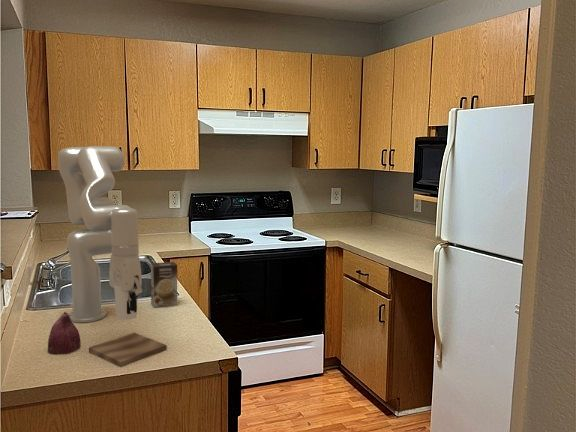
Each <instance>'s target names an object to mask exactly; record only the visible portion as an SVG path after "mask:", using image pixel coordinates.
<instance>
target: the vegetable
mask: <svg viewBox="0 0 576 432" xmlns="http://www.w3.org/2000/svg"><path fill="white" fill-rule="evenodd" d="M69 314H70V313H68V312H67V311H64V312H63V313H62V314H61V315H60V316H59V318H57V320H56V321H55V322H54V323H53V325H52V326H51V329H50V333H49V335H48V340H47V352H48V354H50V355H68V354H71V353H75V352H76V351H78V350H80V348H81V337H80V336H81V335H80V333H79V329H78V328H77V327H76V325H75V324H74V322H73V321H71V319H70V316H69Z"/></svg>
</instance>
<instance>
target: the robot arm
mask: <svg viewBox="0 0 576 432" xmlns="http://www.w3.org/2000/svg"><path fill="white" fill-rule="evenodd" d="M125 162H126V161H125V156H124V153H123V151H122V150H121V149H120V148H119V147H117V146H110V145H109V146H108V145H107V146H105V145H103V146H102V145H99V146H98V145H91V146H90V145H89V146H86V147H85V146H70V147H65V148H62V149H61V150H60V151H59V152H58V154H57V168H58V171H59V175H60V177H61V179H62V181H63V183H64V186H65V192H66V202H67V208H68V209H67V210H68V211H67V212H68V218H69V220H70V222H71V224H73V226H86V228H82V229H76V230H73V231H72V232H70V233H68V235H67V237H66V245H67V250H68V255H69V264H70V274H71V275H70V278H71V279H70V280H71V297H72V298H71V300H72V301H71V302H72V303H70V305H69V307H70V308H72V311H71V312H70V313H68V314H69V316H70V319H71V321H72V322H73V323H89V322H90V323H91V322H96V321H100V320H101V319H104V318H105V317H106V316H107V311H106V310H104V309H102V296H101V295H102V286H101V285H102V284H101V267H100V266H99V264H98V263H97V261H95V260H94V258H93V256H94V257H95V256H101V255H110V254H111V255H110V257H109V258H110V260H109V271H108V274H109V276H108V279H109V283H108V284H109V286H110V287H111V288H113V289H114V285H115V286H119V287H121V290H122V291H125V292H128V301H127V314H131V313H130V310H131V311H134V313H135V312H137V313H138V299H139V297H140V295H142V294H143V288H142V285H143V283H142V277H143V276H142V268H141V266H142V265H141V261H140V251H139V249H140V248H139V217H138V216H139V214H138V213H139V212H138V210H136V209H135V208H133V207H132V208H131V207H130V206H129V205H126V204H115V201H113V199H112V198H109V197H103V195H105V194H108V193H110V191H112V190H113V189H114V187H115V186H116V179H115V177H114V175H113V172H120V171H122V170H123V169H124V167H125ZM133 287H135V289H132V288H133ZM133 291H135V292H134V293H132V294H131V292H133ZM129 301H130V306H129Z"/></svg>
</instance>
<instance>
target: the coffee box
mask: <svg viewBox="0 0 576 432" xmlns="http://www.w3.org/2000/svg"><path fill="white" fill-rule="evenodd" d="M150 304H151V305H152V307H153V308H164V307H165V308H167V307H175V306H176V307H177V306H178V264H177V263H175V262H174V261H169V262H151V263H150Z"/></svg>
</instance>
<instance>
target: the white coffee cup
mask: <svg viewBox="0 0 576 432" xmlns="http://www.w3.org/2000/svg"><path fill="white" fill-rule="evenodd" d="M132 289H135V287H133V288H132ZM113 290H114V302H115V303H114V304H115V317H116V319H117V320H121V321H122V320H123V321H127V320H129V321H130V320H132V319H135V318H137V317H138V311H137V312H135V313H134V311H131V310H130V313H131V314H127V301H128V292H125V291H122V290H121V287H119V286H115V285H114V288H113ZM134 292H135V291H133V292H131V294H132V293H134ZM129 306H130V301H129Z"/></svg>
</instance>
